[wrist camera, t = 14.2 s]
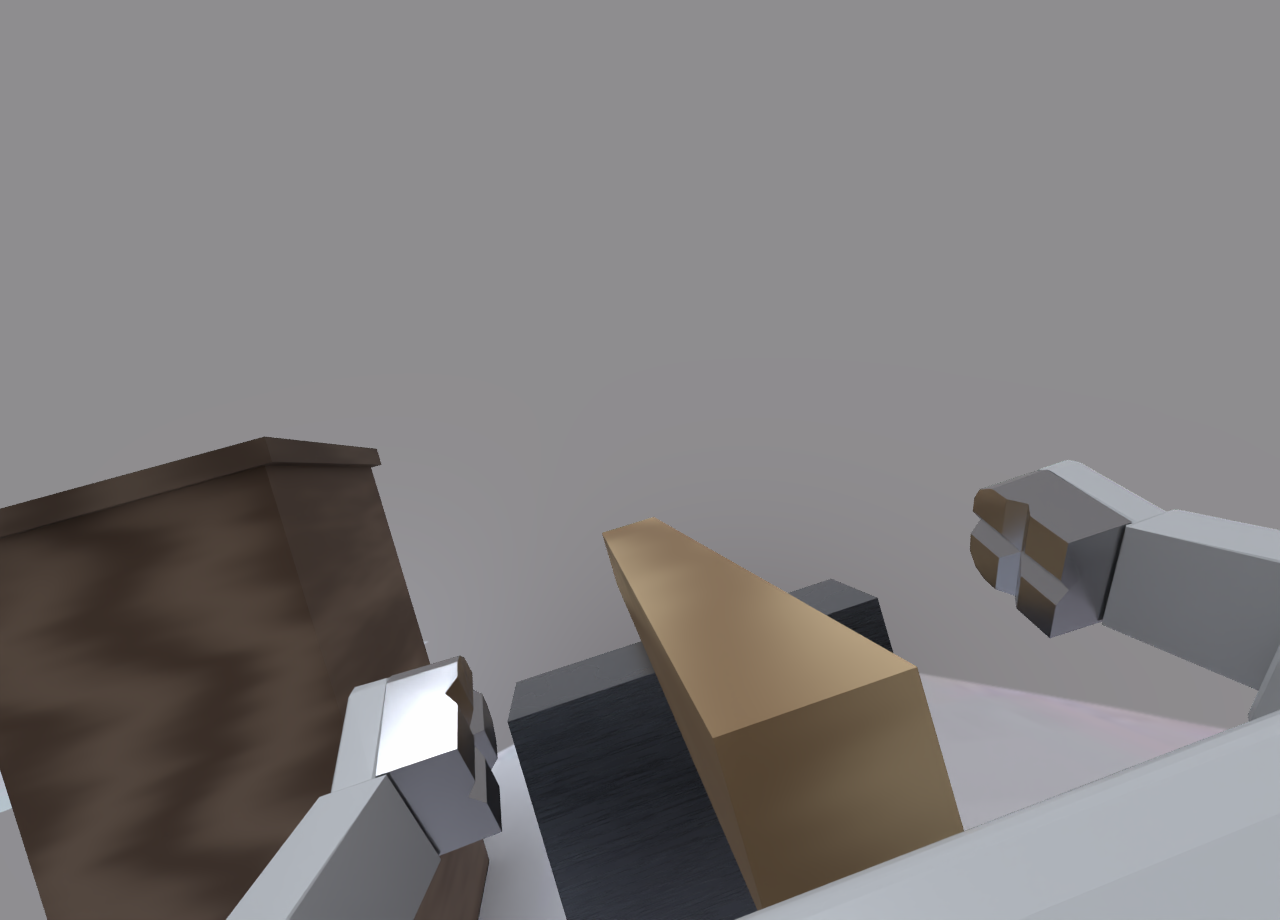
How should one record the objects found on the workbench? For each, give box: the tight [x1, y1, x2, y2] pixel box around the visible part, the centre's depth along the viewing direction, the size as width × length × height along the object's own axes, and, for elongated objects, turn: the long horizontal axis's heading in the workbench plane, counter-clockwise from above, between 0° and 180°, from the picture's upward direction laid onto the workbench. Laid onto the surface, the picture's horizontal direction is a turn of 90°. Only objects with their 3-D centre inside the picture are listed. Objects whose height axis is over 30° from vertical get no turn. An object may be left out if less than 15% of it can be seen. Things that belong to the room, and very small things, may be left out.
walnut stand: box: [0, 437, 489, 920], centre depth 32 cm, size 13×15×26 cm
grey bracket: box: [508, 579, 893, 920], centre depth 18 cm, size 12×10×16 cm
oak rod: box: [602, 517, 964, 910], centre depth 18 cm, size 2×22×2 cm, turn 7°
